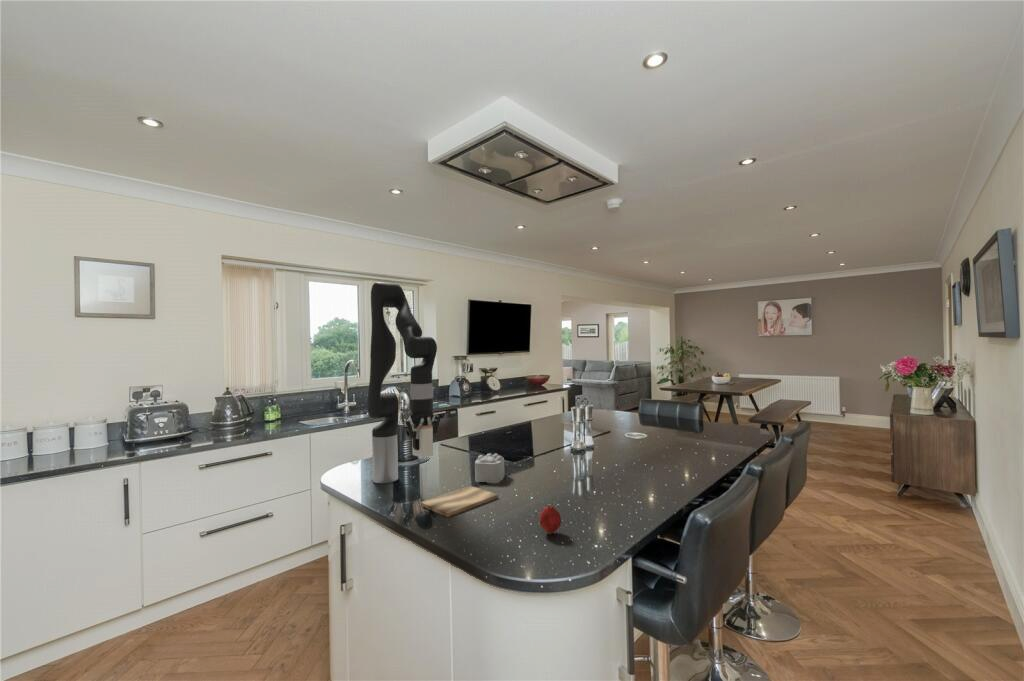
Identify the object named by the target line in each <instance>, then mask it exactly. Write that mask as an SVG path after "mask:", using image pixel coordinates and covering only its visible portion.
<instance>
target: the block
mask: <svg viewBox="0 0 1024 681" xmlns="http://www.w3.org/2000/svg"><path fill="white" fill-rule="evenodd" d="M411 427H412V428H413V424H412V425H411ZM415 428H416V429H417V427H415ZM433 436H434V434H433V425H424V426H421V427H420V432H419V438H418V439H419V450H414V448H413V439H412V438H411V442H412V443H411V450H412V456H415V457H418V458H422V459H424V458H429V457H433V456H434V437H433Z"/></svg>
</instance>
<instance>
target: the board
mask: <svg viewBox="0 0 1024 681" xmlns="http://www.w3.org/2000/svg"><path fill="white" fill-rule="evenodd" d="M498 498H499V494H497V493H494V492H491V491H488V490H485V489H482V488H479V487H476V486H471V485H468V486H466V487H462V488H459V489H456V490H453V491H450V492H447V493H444V494H441V495H437V496H435V497H433V498H432V497H431V498H428V499H426V500H423V501H420V502H419V503H420V504H419V506H420V507H422V508H424V507H425V508H424V509H426V508H427V509H426V510H429V511H431V510H432V511H431V512H434V513H436V514H438V513H439V514H438V515H441V516H443V517H446V518H449V517H452V515H453V516H455V515H458V514H460V513H463V512H465V511H469V510H470V509H474V508H476V507H478V505H479V506H481V505H484V504H485V503H486V504H487V503H490V502H491V500H492V501H494V500H497V499H498ZM483 503H484V504H483Z"/></svg>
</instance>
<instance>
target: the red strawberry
mask: <svg viewBox="0 0 1024 681" xmlns="http://www.w3.org/2000/svg"><path fill="white" fill-rule="evenodd" d="M539 514H540V515H539V517H538V522H539V525H540V528H541V529H542V530H544V531H545V532H546V533H547V534H548V535H553V534H554V533H555V532H556V531H557V530H558V529H559V528H560V526H561V525H562V523H561V522H562V518H561V515H560V512H559V511H558V510H557V508H555V507H553V505H552V504H551V503H549V504H548V505H547V506H546V507H545V508H543V510H542V511H541V512H540V513H539Z"/></svg>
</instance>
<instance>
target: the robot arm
mask: <svg viewBox="0 0 1024 681" xmlns="http://www.w3.org/2000/svg"><path fill="white" fill-rule="evenodd" d="M370 290H371V291H370V310H371V312H370V313H371V335H370V337H371V338H370V351H369V352H370V355H369V356H370V359H369V360H370V367H369V370H370V371H369V382H368V391H367V393H368V394H367V401H366V409H367V414H368V416H369V417H370V418H371V419H381V418H384V420H383V421H381V423H380V424H378V425H376V426H374V427H373V428H372V430H371V434H372V435H371V437H372V438H371V439H372V442H371V444H372V455H371V468H372V470H371V472H372V473H371V474H372V476H371V477H372V481H373V483H376V484H389V483H393V482H396V481H397V480H398V479H399V464H398V462H399V459H398V458H399V457H398V454H399V453H398V428H399V410H400V409H399V408H400V404H399V398H398V396H397V394H396V393H395V392H382V385H383V383H384V380H385V378H386V377H387V375H388V374H389V372H390V371H391V369H392V367H394V366H393V365H394V364H395V361H396V358H397V341H396V339H395V337H394V335H393V333H392V331H391V330H390V328H389V326H388V324H387V323H386V320H385V315H384V308H387V309H388V308H389V309H390V308H394V309H396V310H397V314H396V317H395V326H396V329H397V330H398V332H399V334H400V336H401V337H402V341H403V348H404V353H405V354H406V356H407V357H409V358H411V359H422V360H421V362H420V364H416V365H413V366H412V367H411V368H410V388H409V396H410V397H409V405H410V406H409V407H410V410H409V411H410V417H409V418H408V419H406V420H405V419H403V421H402V425H403V428H404V431H405V434H406V436H407V438H411V440H412V439H413V448H414V450H419V439H418V438H419V432H420V427H421V426H424V425H433V435H434V434H437V433H438V430H439V425H440V422H441V415H435V414H434V413H433V411H434V387H433V369H434V365H435V364H434V363H435V359H436V357H437V351H438V345H437V342H436V340H435V339H434V338H433V337H430V336H423V330H422V327H421V326H420V324H419V323H418V321H417V319H416V318H415V316H414V315H413V313H412V311H411V308H410V305H409V302H408V300H407V298H406V294H405V292H404V291H405V290H404V289H403V288H402V286H400V285H399V284H398V283H393V282H383V281H382V282H380V281H377V282H374V283H373V284H372V286H371V289H370ZM412 425H413V428H412ZM415 427H417V429H416V428H415Z"/></svg>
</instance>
